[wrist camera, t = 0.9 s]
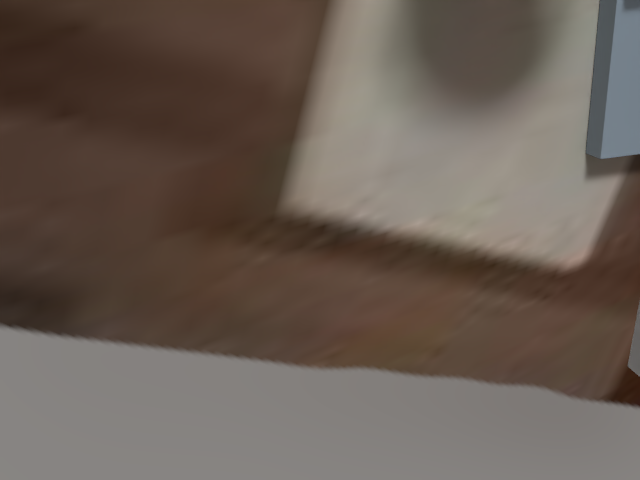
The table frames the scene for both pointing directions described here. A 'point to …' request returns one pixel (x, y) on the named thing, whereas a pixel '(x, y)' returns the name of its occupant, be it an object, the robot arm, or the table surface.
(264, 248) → the table surface
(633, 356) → the robot arm
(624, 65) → the tray
